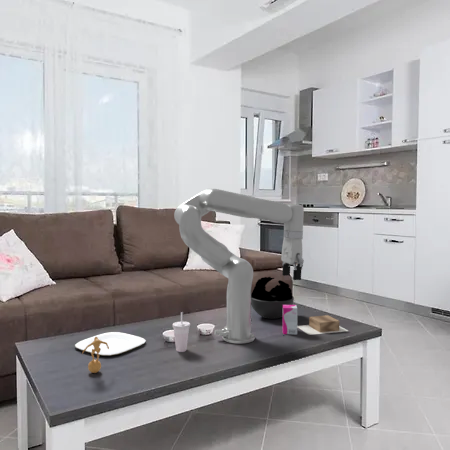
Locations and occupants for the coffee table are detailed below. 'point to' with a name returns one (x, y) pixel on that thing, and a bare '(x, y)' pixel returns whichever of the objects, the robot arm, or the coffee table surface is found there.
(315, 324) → the walnut block
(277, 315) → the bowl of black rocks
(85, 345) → the plate
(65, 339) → the coffee table surface
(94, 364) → the figurine
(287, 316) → the supplement box
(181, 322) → the smoothie
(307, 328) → the board
